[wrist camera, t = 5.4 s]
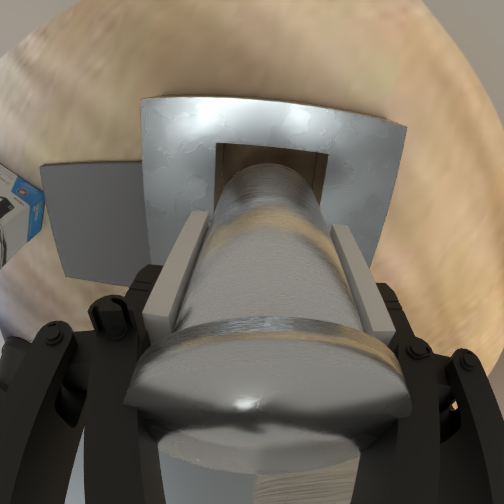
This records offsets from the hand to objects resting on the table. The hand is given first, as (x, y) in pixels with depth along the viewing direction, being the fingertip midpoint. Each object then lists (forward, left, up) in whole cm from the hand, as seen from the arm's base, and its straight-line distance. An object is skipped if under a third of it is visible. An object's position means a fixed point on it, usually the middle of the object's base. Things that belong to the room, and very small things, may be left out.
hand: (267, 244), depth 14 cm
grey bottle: (0, 0, -4) cm, 4 cm away
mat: (-14, -5, -9) cm, 17 cm away
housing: (0, 0, -9) cm, 9 cm away
